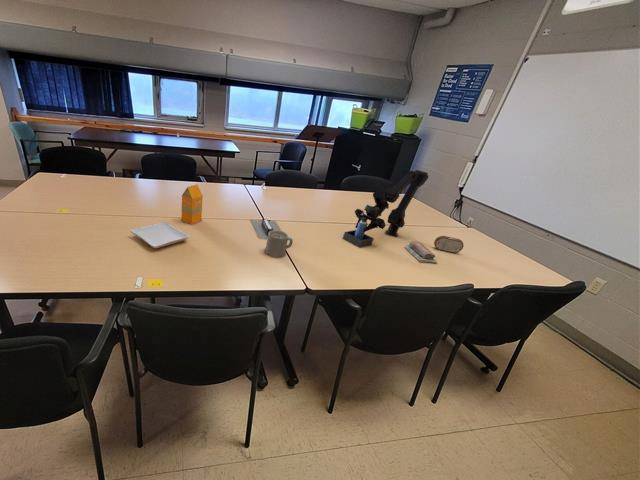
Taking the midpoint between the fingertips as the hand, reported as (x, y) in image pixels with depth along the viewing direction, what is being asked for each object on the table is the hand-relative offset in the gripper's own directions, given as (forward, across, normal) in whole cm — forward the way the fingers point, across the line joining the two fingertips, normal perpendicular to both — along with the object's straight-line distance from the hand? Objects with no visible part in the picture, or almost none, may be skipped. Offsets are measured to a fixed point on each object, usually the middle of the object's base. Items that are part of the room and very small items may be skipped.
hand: (359, 229), depth 179 cm
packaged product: (-11, +26, +22) cm, 37 cm away
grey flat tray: (+34, -32, -24) cm, 52 cm away
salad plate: (+78, -39, -68) cm, 111 cm away
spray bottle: (+4, 0, +6) cm, 7 cm away
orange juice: (+60, -57, -49) cm, 96 cm away
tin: (-28, +29, +39) cm, 56 cm away
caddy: (+4, 0, +6) cm, 8 cm away
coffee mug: (+44, -5, -33) cm, 55 cm away
